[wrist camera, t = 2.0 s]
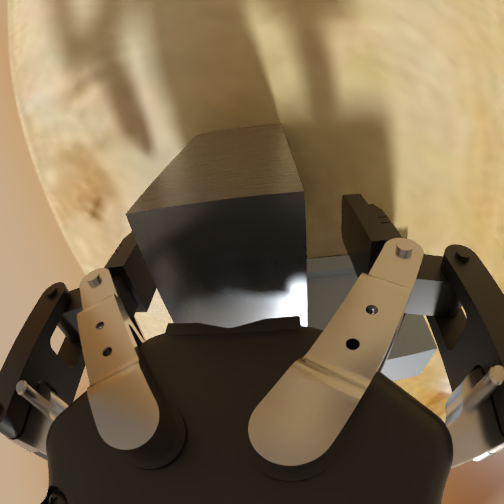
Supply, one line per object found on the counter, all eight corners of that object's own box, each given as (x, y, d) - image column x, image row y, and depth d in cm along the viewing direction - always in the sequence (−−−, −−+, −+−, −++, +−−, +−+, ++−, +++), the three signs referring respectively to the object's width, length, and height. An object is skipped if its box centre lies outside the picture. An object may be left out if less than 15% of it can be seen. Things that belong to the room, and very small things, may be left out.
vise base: (234, 265, 17) (221, 369, 11) (406, 249, 16) (455, 338, 10) (266, 399, 29) (265, 455, 23) (360, 389, 27) (369, 444, 22)
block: (220, 237, 16) (194, 360, 9) (197, 135, 12) (125, 213, 6) (290, 231, 15) (306, 356, 9) (280, 123, 12) (304, 191, 5)
